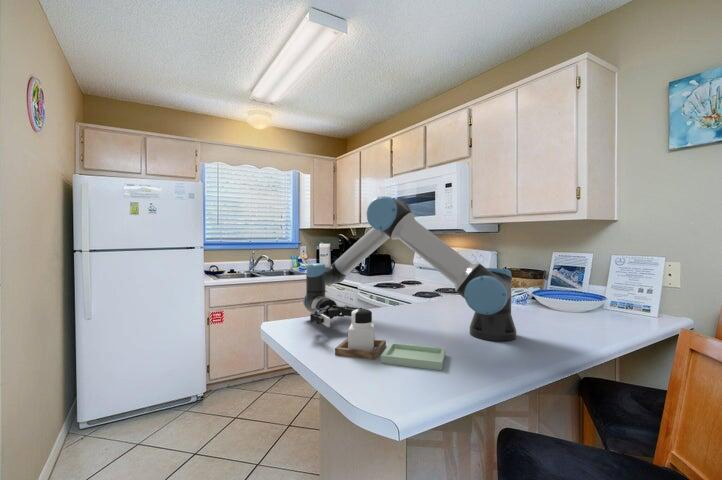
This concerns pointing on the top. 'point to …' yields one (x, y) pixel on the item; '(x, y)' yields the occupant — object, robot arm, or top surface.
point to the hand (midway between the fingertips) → (349, 320)
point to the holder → (374, 354)
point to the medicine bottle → (361, 330)
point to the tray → (414, 356)
